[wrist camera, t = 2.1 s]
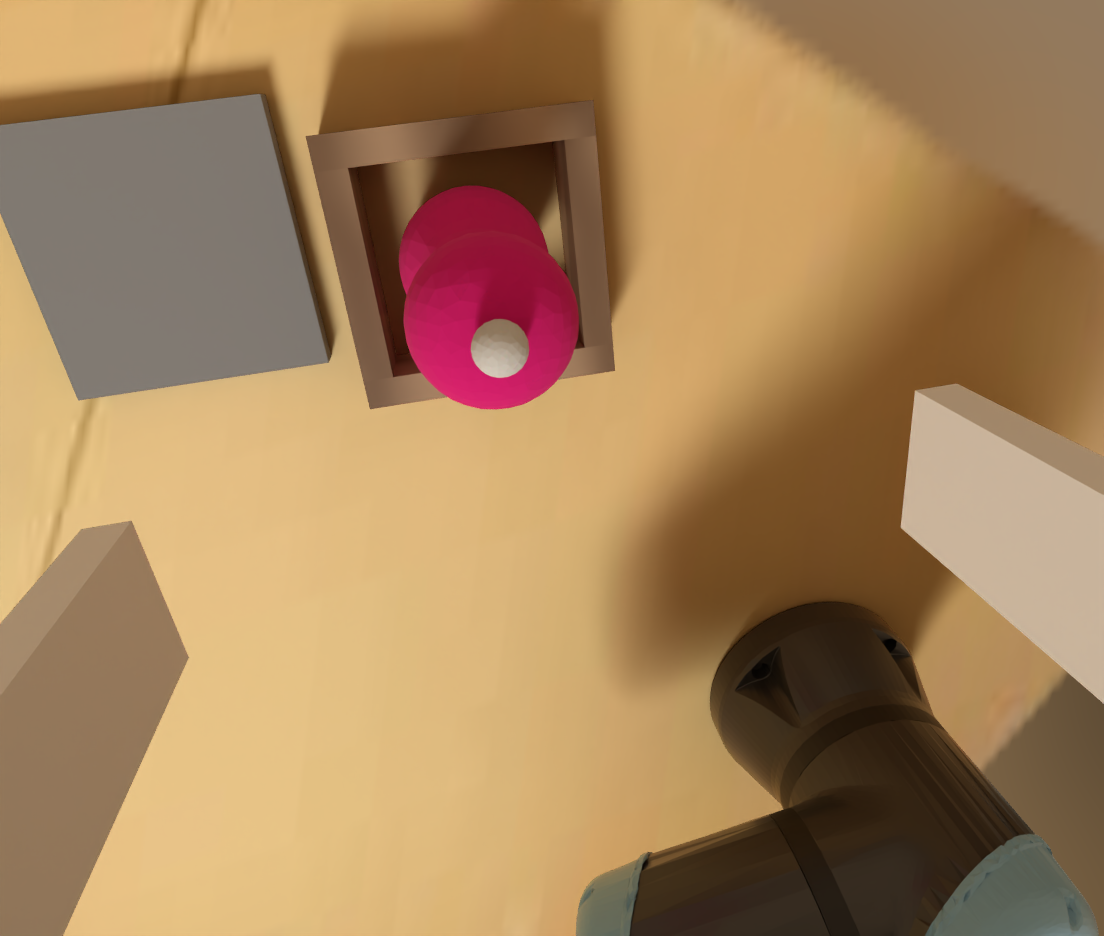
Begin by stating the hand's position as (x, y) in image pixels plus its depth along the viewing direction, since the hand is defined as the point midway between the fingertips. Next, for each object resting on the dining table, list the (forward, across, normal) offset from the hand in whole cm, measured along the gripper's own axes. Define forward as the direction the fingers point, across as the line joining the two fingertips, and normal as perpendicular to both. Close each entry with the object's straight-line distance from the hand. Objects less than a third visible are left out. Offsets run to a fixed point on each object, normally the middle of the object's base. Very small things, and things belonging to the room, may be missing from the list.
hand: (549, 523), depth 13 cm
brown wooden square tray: (+30, 0, 0) cm, 30 cm away
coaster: (+30, +15, -2) cm, 34 cm away
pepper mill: (+30, 0, 0) cm, 30 cm away
